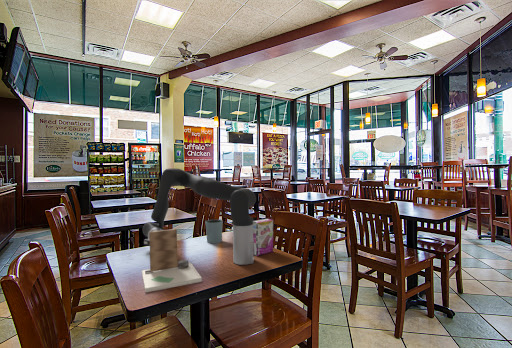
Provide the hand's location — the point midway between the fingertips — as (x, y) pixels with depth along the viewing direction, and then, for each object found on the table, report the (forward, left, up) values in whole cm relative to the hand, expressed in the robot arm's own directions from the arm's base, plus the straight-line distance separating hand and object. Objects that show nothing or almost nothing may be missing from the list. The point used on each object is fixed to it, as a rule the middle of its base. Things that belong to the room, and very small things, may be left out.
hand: (161, 245), depth 121 cm
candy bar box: (-42, -23, -10) cm, 49 cm away
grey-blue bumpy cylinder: (-13, -43, -10) cm, 46 cm away
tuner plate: (-8, +10, -10) cm, 16 cm away
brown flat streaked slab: (-5, +5, -8) cm, 11 cm away
